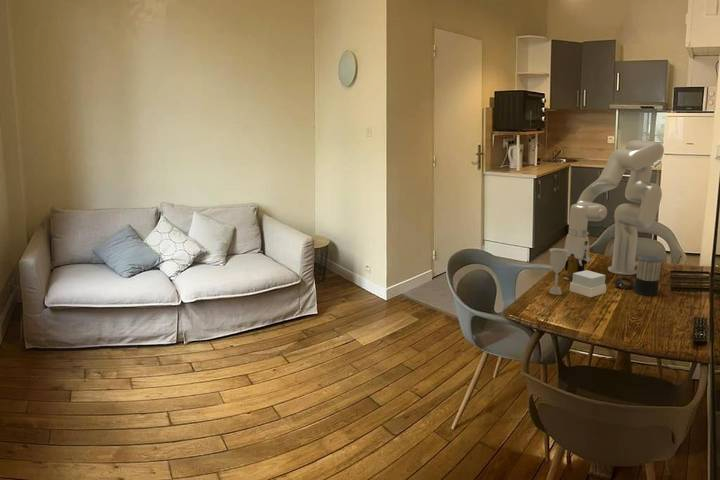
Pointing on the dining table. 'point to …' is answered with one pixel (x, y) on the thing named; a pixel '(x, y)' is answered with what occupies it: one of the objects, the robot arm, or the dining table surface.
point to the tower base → (587, 290)
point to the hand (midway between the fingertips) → (574, 271)
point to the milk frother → (644, 276)
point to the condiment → (572, 267)
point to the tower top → (588, 279)
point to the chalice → (557, 266)
